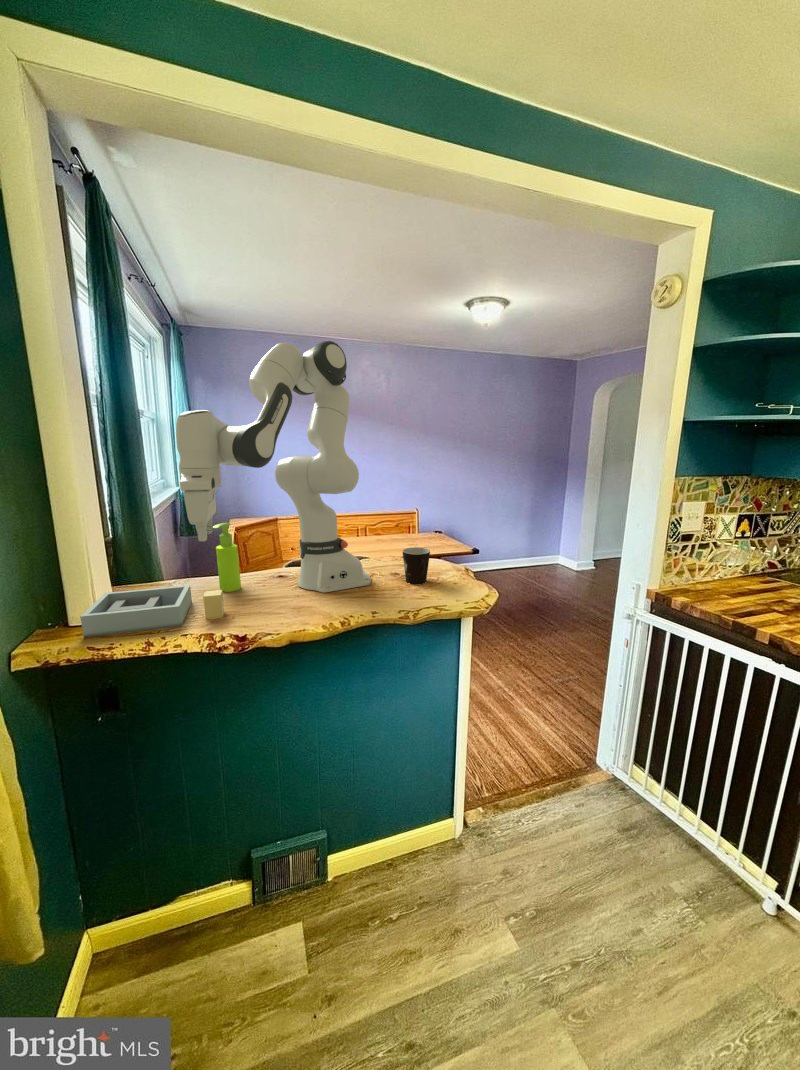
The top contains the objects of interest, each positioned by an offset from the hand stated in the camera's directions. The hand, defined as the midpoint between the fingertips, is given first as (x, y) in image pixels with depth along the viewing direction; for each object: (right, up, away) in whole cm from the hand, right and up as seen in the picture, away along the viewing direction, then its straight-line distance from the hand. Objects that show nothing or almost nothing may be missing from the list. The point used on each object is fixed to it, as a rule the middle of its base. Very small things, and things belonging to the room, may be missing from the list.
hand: (205, 536), depth 104 cm
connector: (+1, -20, +4) cm, 20 cm away
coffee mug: (+52, -15, +28) cm, 61 cm away
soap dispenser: (-4, -16, +23) cm, 29 cm away
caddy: (-17, -20, +2) cm, 26 cm away
